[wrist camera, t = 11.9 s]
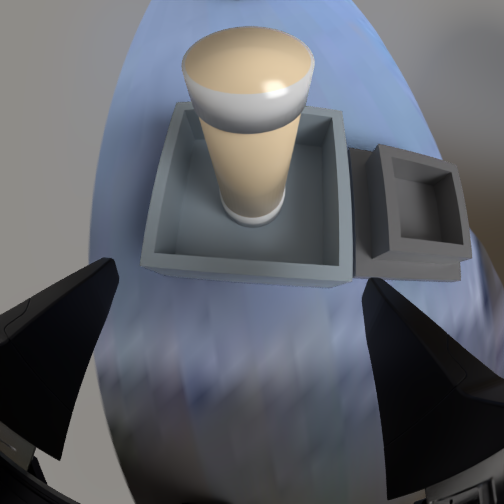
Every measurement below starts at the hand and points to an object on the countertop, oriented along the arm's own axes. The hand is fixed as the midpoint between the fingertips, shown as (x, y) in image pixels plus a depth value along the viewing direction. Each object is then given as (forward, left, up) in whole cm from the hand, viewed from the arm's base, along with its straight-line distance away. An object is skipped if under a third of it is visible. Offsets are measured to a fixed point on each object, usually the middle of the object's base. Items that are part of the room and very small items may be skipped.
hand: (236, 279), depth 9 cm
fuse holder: (+6, -11, -8) cm, 15 cm away
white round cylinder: (+6, 0, -7) cm, 9 cm away
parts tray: (+6, 0, -8) cm, 10 cm away
